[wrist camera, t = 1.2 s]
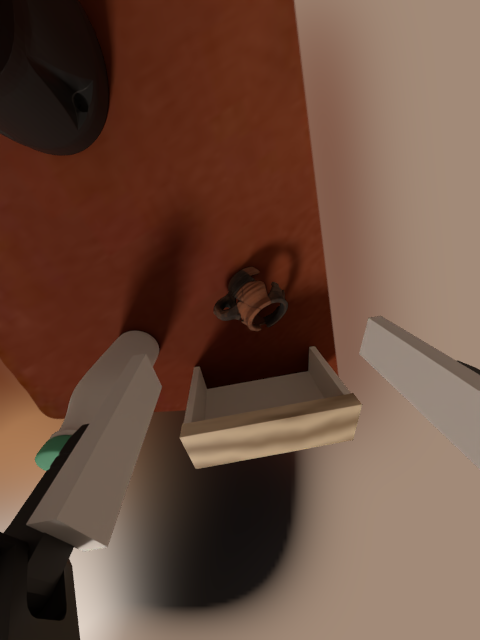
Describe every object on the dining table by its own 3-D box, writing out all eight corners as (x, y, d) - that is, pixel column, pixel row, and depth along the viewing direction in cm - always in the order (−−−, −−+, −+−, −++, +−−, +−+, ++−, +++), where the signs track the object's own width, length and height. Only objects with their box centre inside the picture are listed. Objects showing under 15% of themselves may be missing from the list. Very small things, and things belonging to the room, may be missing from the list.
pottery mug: (267, 255, 31) (297, 285, 26) (266, 294, 38) (288, 322, 34) (200, 280, 29) (219, 317, 24) (212, 316, 36) (228, 350, 32)
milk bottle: (116, 326, 33) (-1, 439, 16) (161, 332, 35) (99, 443, 17) (118, 359, 37) (24, 484, 19) (159, 363, 38) (106, 483, 20)
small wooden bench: (193, 365, 39) (179, 437, 26) (314, 344, 40) (362, 404, 26) (203, 394, 43) (195, 469, 30) (312, 374, 44) (352, 440, 31)
